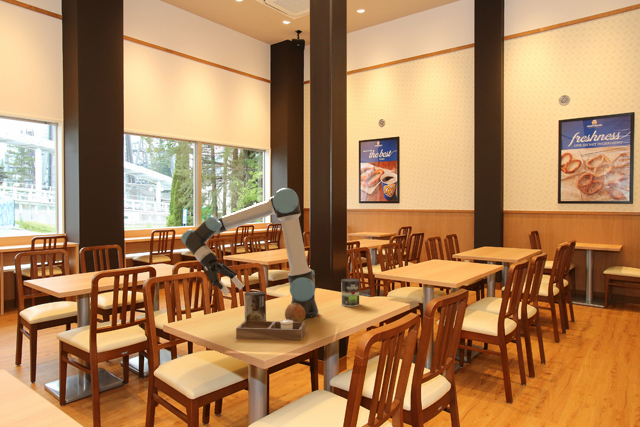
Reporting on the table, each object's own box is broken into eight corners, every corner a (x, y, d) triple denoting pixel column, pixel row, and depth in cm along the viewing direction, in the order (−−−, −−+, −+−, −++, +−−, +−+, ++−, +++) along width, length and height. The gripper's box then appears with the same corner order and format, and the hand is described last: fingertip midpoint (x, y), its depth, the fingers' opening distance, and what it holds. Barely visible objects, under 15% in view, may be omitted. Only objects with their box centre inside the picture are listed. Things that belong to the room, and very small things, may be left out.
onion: (308, 322, 196) (307, 301, 196) (302, 327, 187) (302, 305, 186) (288, 320, 199) (288, 300, 198) (282, 326, 189) (281, 304, 189)
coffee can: (362, 306, 228) (362, 280, 228) (344, 307, 225) (344, 281, 225) (356, 302, 238) (356, 277, 238) (339, 303, 235) (338, 278, 235)
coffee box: (264, 325, 191) (263, 290, 191) (266, 329, 185) (266, 293, 185) (244, 327, 188) (244, 292, 188) (246, 331, 182) (245, 294, 182)
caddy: (245, 331, 181) (244, 320, 181) (305, 333, 178) (305, 322, 178) (236, 340, 169) (236, 328, 169) (300, 342, 166) (300, 330, 166)
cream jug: (281, 333, 176) (281, 319, 176) (294, 333, 175) (294, 319, 175) (278, 337, 170) (278, 323, 170) (292, 337, 170) (291, 323, 170)
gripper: (215, 259, 206) (242, 290, 202) (185, 266, 183) (215, 301, 178) (224, 249, 205) (252, 280, 201) (195, 254, 181) (226, 290, 177)
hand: (235, 290), depth 189 cm, fingers open, 13 cm apart
